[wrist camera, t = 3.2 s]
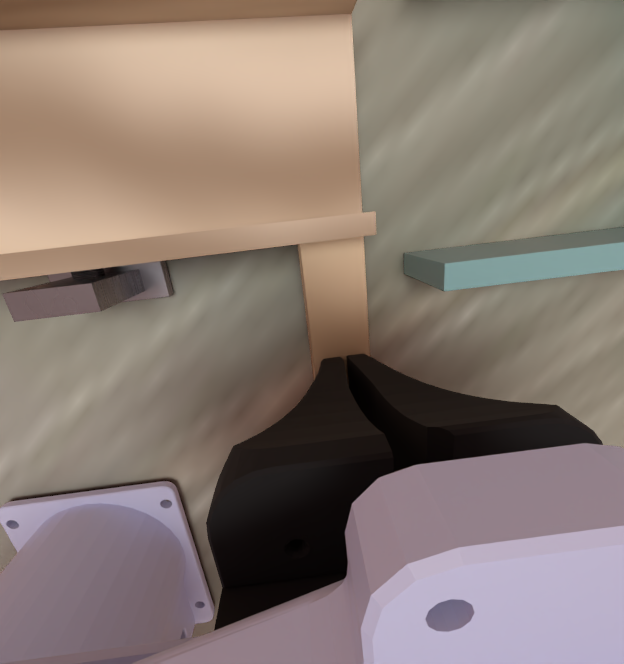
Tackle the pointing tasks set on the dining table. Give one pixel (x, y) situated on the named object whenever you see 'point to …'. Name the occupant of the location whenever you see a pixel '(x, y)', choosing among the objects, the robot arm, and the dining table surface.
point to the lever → (186, 143)
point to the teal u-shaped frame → (518, 260)
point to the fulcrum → (89, 291)
